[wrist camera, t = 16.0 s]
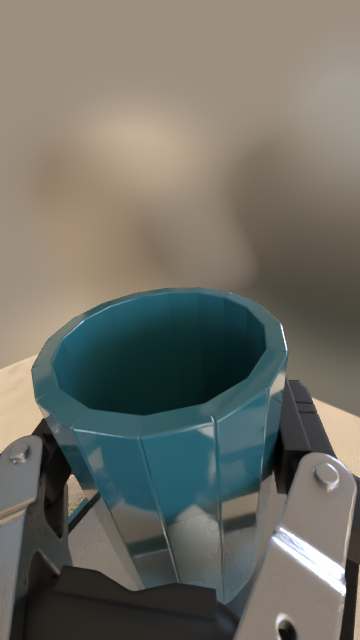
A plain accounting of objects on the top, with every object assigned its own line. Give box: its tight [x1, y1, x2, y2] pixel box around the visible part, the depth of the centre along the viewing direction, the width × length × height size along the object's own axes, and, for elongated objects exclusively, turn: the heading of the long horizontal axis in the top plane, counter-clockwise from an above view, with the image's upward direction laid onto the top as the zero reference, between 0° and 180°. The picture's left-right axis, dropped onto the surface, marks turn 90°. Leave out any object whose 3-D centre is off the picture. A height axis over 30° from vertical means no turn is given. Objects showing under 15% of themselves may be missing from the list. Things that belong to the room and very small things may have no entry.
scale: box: [68, 472, 359, 640], centre depth 15 cm, size 16×15×3 cm
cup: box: [31, 288, 288, 605], centre depth 9 cm, size 7×7×10 cm
